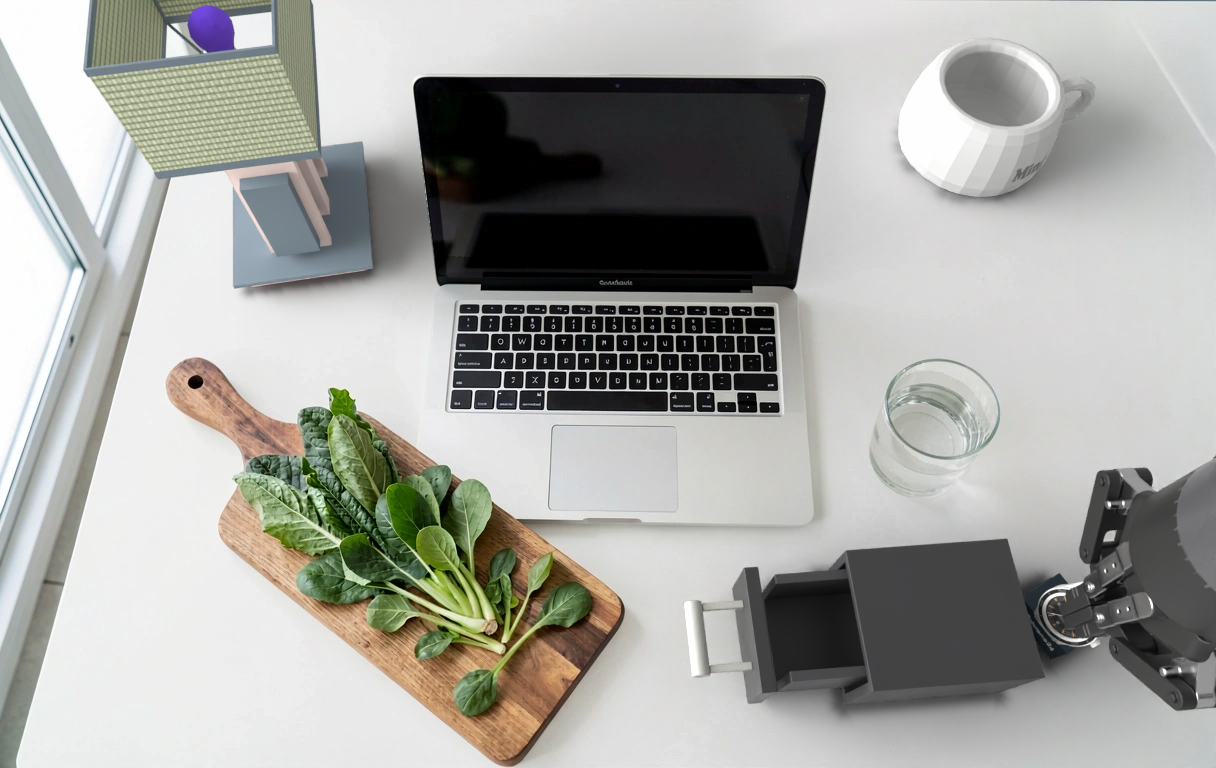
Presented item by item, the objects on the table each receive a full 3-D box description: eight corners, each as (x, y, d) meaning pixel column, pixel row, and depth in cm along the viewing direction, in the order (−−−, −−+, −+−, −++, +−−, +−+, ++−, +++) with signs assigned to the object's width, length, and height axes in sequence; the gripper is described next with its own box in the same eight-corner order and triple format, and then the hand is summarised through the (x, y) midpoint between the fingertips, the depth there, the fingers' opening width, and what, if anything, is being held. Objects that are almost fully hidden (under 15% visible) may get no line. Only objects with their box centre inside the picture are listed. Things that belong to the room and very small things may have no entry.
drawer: (689, 708, 76) (698, 698, 70) (677, 591, 81) (684, 571, 74) (892, 692, 77) (920, 680, 70) (869, 577, 81) (893, 556, 75)
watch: (991, 616, 81) (1046, 588, 71) (1058, 571, 83) (1120, 538, 73) (1034, 672, 79) (1096, 651, 69) (1101, 625, 81) (1172, 598, 71)
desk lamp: (378, 285, 95) (279, 46, 66) (241, 305, 94) (78, 70, 65) (366, 150, 103) (273, -117, 74) (240, 167, 102) (95, -98, 72)
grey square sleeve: (843, 704, 77) (872, 691, 69) (820, 576, 82) (845, 550, 74) (998, 692, 78) (1045, 677, 70) (967, 565, 83) (1007, 538, 75)
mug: (921, 217, 100) (954, 157, 91) (872, 103, 107) (897, 37, 98) (1100, 186, 102) (1149, 124, 93) (1040, 76, 109) (1080, 10, 100)
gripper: (1428, 690, 36) (1176, 729, 51) (1293, 389, 42) (1103, 506, 57) (1245, 705, 35) (1047, 739, 51) (1134, 400, 41) (987, 515, 57)
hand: (1077, 616), depth 54 cm, fingers closed
